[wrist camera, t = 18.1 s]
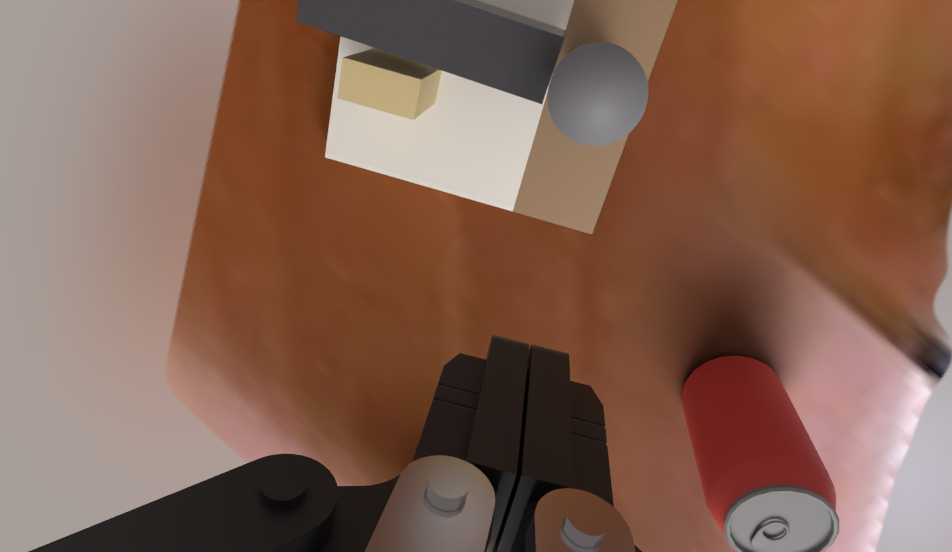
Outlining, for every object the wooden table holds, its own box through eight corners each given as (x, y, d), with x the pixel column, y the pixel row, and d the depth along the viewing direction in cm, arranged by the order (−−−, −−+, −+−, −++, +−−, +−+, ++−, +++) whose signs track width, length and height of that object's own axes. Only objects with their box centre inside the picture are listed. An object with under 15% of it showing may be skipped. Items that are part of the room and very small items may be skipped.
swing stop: (566, 30, 31) (565, 37, 26) (547, 88, 32) (541, 104, 27) (345, -44, 31) (306, -50, 26) (335, 16, 32) (296, 21, 28)
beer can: (660, 396, 43) (687, 532, 32) (726, 333, 40) (780, 460, 29) (732, 443, 43) (782, 591, 33) (802, 384, 41) (882, 526, 30)
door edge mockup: (591, 222, 38) (595, 304, 28) (336, 149, 38) (253, 204, 29) (708, -102, 30) (772, -147, 20) (383, -190, 30) (289, -276, 20)
